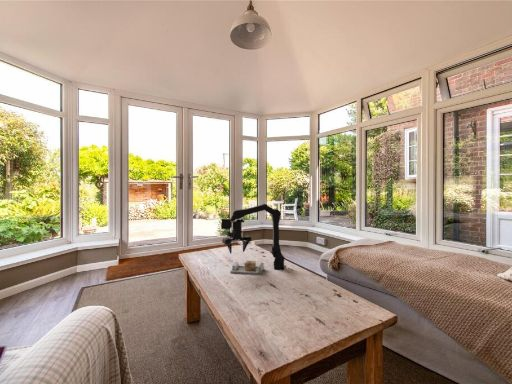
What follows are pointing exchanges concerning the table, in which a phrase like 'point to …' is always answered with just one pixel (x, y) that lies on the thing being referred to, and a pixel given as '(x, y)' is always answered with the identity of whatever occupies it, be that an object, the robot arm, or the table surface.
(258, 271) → the base
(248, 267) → the block
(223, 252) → the table surface
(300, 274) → the table surface
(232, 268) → the block
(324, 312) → the table surface
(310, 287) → the table surface
